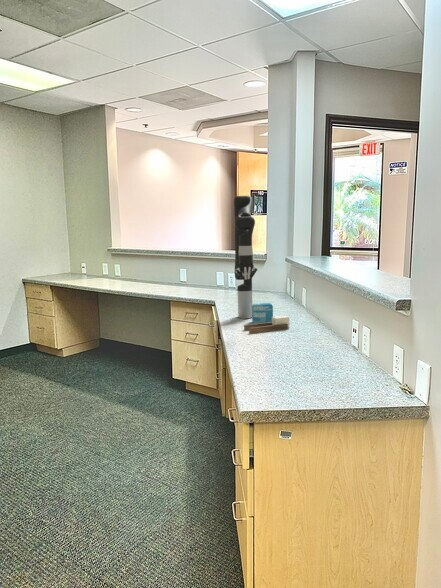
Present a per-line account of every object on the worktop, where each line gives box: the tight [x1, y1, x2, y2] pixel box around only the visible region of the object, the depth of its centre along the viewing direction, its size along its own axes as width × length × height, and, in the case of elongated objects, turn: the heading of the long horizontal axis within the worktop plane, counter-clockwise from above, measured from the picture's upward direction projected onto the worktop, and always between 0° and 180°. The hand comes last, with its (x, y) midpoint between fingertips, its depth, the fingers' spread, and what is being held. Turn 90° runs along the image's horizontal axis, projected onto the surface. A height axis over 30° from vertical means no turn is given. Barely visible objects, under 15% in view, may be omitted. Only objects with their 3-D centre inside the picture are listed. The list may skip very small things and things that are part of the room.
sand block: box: [272, 315, 290, 329], centre depth 232 cm, size 5×8×6 cm, turn 108°
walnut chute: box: [243, 322, 289, 335], centre depth 230 cm, size 10×22×4 cm, turn 108°
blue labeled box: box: [251, 302, 274, 324], centre depth 248 cm, size 12×4×12 cm, turn 89°
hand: (246, 286), depth 230 cm, fingers closed
